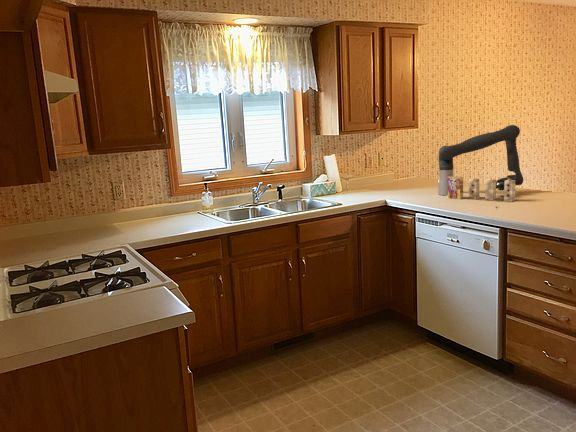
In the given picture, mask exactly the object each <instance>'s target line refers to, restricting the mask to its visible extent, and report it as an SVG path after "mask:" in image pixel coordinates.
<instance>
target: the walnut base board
mask: <svg viewBox="0 0 576 432" xmlns="http://www.w3.org/2000/svg"><path fill="white" fill-rule="evenodd" d="M464 200H472V201H473V200H474V201H488V202H498V203H499V202H501V203H515V202H517V201H518V202H519V199H516V198H515V200H514V201H504V198H499V197H498V198H497V197H496V199H494V200H485V196H479V198H477V199H472V198H469V197H466V198H464Z"/></svg>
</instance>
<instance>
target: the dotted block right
mask: <svg viewBox="0 0 576 432" xmlns="http://www.w3.org/2000/svg"><path fill="white" fill-rule="evenodd" d="M503 193H504V194H503V195H504V196H503V199H504V201H514V200H515V199H516V185H515V180H506V181H505V184H504V190H503Z"/></svg>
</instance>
